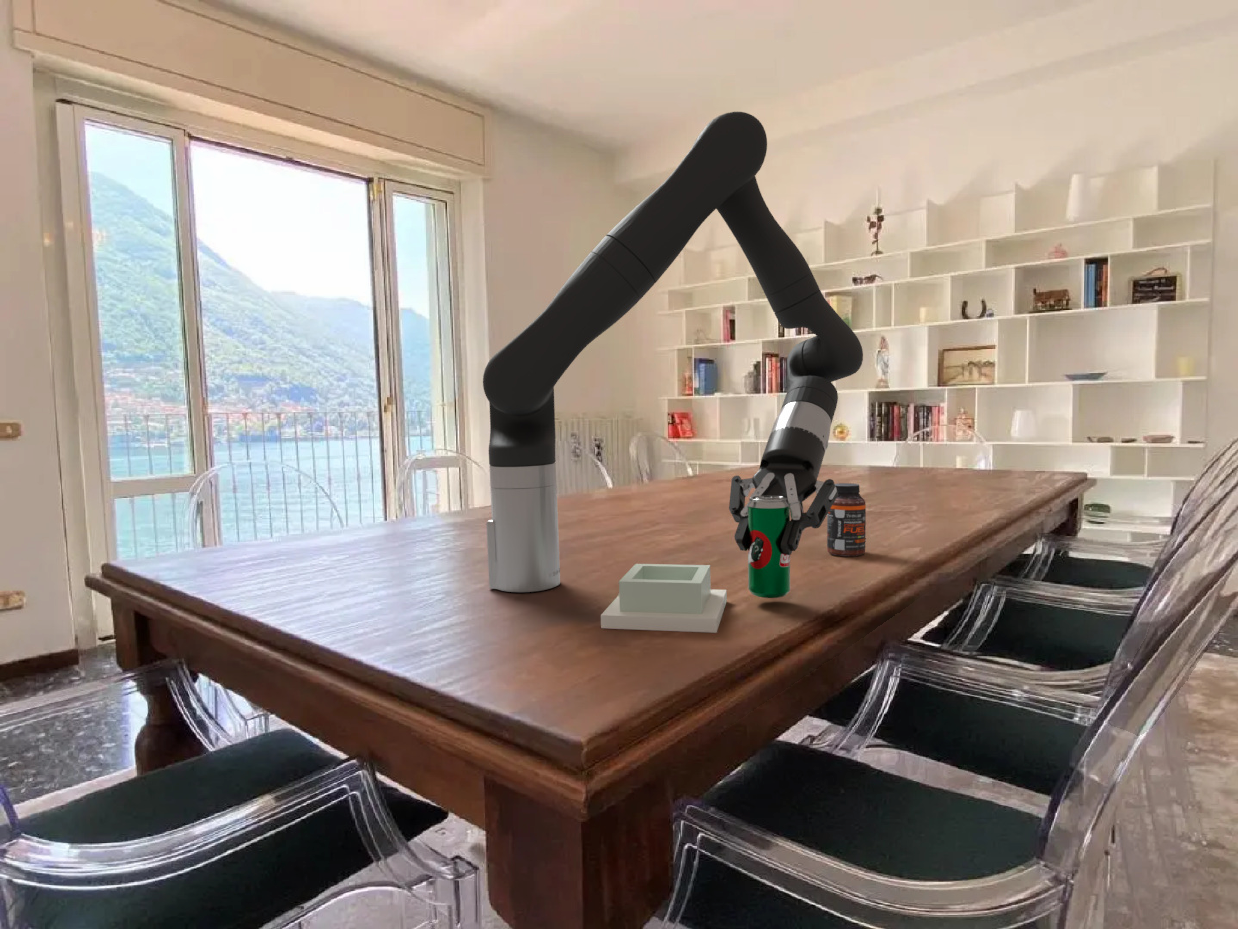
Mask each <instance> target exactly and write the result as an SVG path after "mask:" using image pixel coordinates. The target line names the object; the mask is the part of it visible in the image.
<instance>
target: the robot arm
mask: <svg viewBox="0 0 1238 929" xmlns="http://www.w3.org/2000/svg"><path fill="white" fill-rule="evenodd" d="M690 148H691V149H690V150H689V151H688V152H687V154H686V155H685V156H684V158H683V159H682V160H681V162H680V163H679V164H678V165H677V166H676V168H675V169H674V170H673V171H672V173H671V174H670V175H669V176H668V177H667V178H666V180H665V181H664V182H662V184H660V185H659V186H658V187H657V188H656V189H655V190H654V191H653V192H651V193H650V194H649V195H648V196H646V197H645V198H644V199H643V200H642V201H641V202H640V203H639V204H637V205H636V206H635V207H634V208H633V209H632V210H630V211H629V213H628V214H626V215H625V217H623V218H622V219H621V220H620V221H619V222H618V223H617V224H616V225H615V226H614V227H613V228H611V230H609V232H607V233H606V235H605V236H604V237H603V238H602V239H601V241H600V242H598V243H597V245H596V246H595V247H594V248H593V249H592V250H591V251H590V253H588V254H587V256H586V257H585V258H584V260H583V261H582V262H581V263H580V265H579V266H577V268H576V269H575V270H574V272H573V273H572V274H571V275H570V276H569V278H568V279H567V280H566V281H565V283H564V284H563V285H562V287H560V289H559V290H558V292H557V293H556V295H555V296H554V298H553V299H552V300H551V302H549V304H548V305H547V306H546V307H545V309H544V310H543V311H542V312H541V313H540V314H539V315H538V316H537V317H536V318H535V319H534V320H533V321H531V322H530V324H529V325H528V326H526V327H525V328H524V329H523V330H522V331H521V332H520V333H519V334H517V335H516V336H515V337H513V339H511V340H510V341H509V342H508V343H506V344H505V345H504V346H503V347H502V348H501V349H500V350H498V351H497V352H496V353H495V354H494V355H493V356H492V357H491V359H490V360H489V361H488V362H487V365H486V367H485V368H484V372H483V375H482V377H483V378H482V387H483V393H484V394H485V395H484V396H485V397H486V399H487V401H488V402H489V422H490V423H489V427H490V429H489V432H490V433H489V444H488V462H489V463H488V464H489V481H490V482H489V485H490V506H491V510H490V511H491V519H489V520H487V522H486V523H485V524H486V547H487V565H488V566H487V567H488V568H487V569H488V585H489V589H491V590H499V591H502V592H509V593H510V592H511V593H530V592H531V593H534V592H541V591H545V590H550V589H553V588H556V587H557V586H559V585H560V584H561V565H560V542H559V540H560V538H559V536H560V535H559V516H558V515H559V514H558V489H557V487H558V486H557V464H556V420H555V419H556V416H555V414H556V412H555V410H556V409H555V408H556V407H555V386H556V385H557V383H558V382H559V381H560V378H562V377H563V374H564V373H565V372H566V371H567V370H568V368H569V367H570V365H571V364H573V363H574V361H575V359H576V358H577V357H578V356H579V354H580V353H581V352H582V351H583V350H585V348H587V346H589V344H591V343H592V342H593V341H594V340H595V339H597V338H598V337H599V336H600V335H602V334H603V333H604V332H606V331H607V330H608V329H610V328H611V327H613V325H614V324H616V323H617V322H618V321H619V320H621V318H623V317H624V316H625V315H626V314H627V313H629V311H630V310H631V309H632V308H634V306H636V305H637V304H638V303H639V301H641V299H643V297H644V296H645V295H646V294H647V293H648V291H649V290H651V288H652V287H653V286H654V285H655V284H656V283H658V281H659V279H660V278H661V277H662V276H663V275H664V274H665V272H666V271H667V270H668V269H669V267H671V265H672V264H673V263H674V261H676V259H677V257H678V256H679V254H681V252H683V250H684V249H685V247H686V246H687V244H688V243H689V241H690V240H691V239H692V237H693V236H694V234H695V233H696V232H697V230H698V229H699V228H700V227H701V225H702V224H703V223H704V222H705V221H706V220H707V219H708V217H710V215H711V214H713V212H714V211H715V210H716V211H718V214H720V216H721V217H722V220H723V221H724V223H726V225H727V227H728V229H729V230H730V231H731V234H732V235H733V236H734V238H735V240H736V241H737V243H738V245H739V247H740V248H741V251H742V252H743V253H744V255H745V257H746V259H747V261H748V263H749V265H750V267H751V268H752V270H753V273H754V274H755V276H756V278H757V280H758V282H759V284H760V287H761V290H763V293H764V295H765V297H766V300H767V302H768V303H769V305H770V307H771V310H772V311H773V313H774V315H775V318H776V319H777V321H778V322H779V325H780V326H781V327H782V328H783V329H786V330H787V329H788V330H792V329H798V328H802V329H803V328H804V329H808V330H809V331H810V332H812V333H813V334H814V335H815V336H812V337H811V338H808V339H805V340H803V341H800V342H799V343H797V344H796V345H794V347H793V348H792V349H791V350H790V352H789V354H788V355H787V357H786V358H787V359H786V394H785V397H784V399H783V402H782V405H781V408H780V411H779V413H778V414H777V417H776V419H775V420H774V423H773V425H772V428H771V431H770V434H769V437H768V439H767V442H766V444H765V448H764V449H763V450H764V451H763V454H762V456H761V460H760V463H759V469H758V470H757V472H755V474H754V475H752V477H751V478H743V479H742V478H741V476H740V475H734V476H732V478H731V485H730V494H729V506H728V510H729V512H730V514H731V516H732V518H733V520H734V521H735V522H736V523H738V525H737V528H736V531H735V533H734V536H733V537H734V541H735V543H736V544H737V546H738V548H739V550H740V551H743V552H744V551H745V552H748V505H749V503H750V502H751V497H754V496H783V497H786V498H787V499H786V502H787V503H788V505H789V506H790V519H791V520H790V521H788V523H787V525H786V529H785V532H784V535H783V538H782V542H781V549H782V551H783V553H784V555H790V556H791V555H792V553H793V552H796V551H797V549H798V547H799V544H800V541H801V537H802V534H803V531H805V530H806V529H807V528H812V529H819V528H820V527H821V526H822V524H823V523H824V520H825V519H826V517H827V514H828V512H829V510H830V508H831V507H832V505H833V503H834V501H835V500H836V498H837V496H838V493H837V489H836V486H835V484H836V483H835V482H834V480H833V479H831V478H828V479H826V480H825V481H820V480H818V477H819V474H820V472H821V471H820V470H821V467H822V464H823V461H824V456H825V454H826V451H827V449H828V446H829V440H830V434H831V426H832V424H833V419H834V415H835V412H836V409H837V406H838V401H839V396H838V395H839V394H838V391H837V388H836V386H835V385H834V384H833V382H836V381H838V380H842V379H844V378H847V377H850V376H853V375H854V374H856V373H858V371H859V370H860V369H861V367H862V365H863V361H864V351H863V348H862V347H863V346H862V345H861V344H862V343H861V342H860V339H859V338H858V336H857V334H856V333H855V332H854V331H853V329H852V328H851V327H850V326H849V325H848V323H846V321H844V320H843V318H842V317H841V316H840V314H838V313H837V311H836V310H835V309H834V308H833V306H832V305H831V304H830V303H829V302H828V300H826V298H825V297H824V295H823V294H822V290H821V289H820V286H819V285H818V283H817V280H816V279H815V275H814V274H813V272H812V270H811V267H810V266H809V264H808V262H807V260H806V259H805V257H804V255H803V254H802V252H801V251H800V250H799V247H797V245H796V244H795V242H794V241H793V240H792V239H791V238H790V236H789V235H788V234H787V233H786V232H785V230H784V229H783V228H782V226H780V224H779V223H778V222H777V220H776V218H775V217H774V216H773V214H772V213H771V210H770V209H769V207H768V205H767V204H766V201H765V200H764V196H763V195H762V192H761V190H760V187H759V184H758V181H757V174H758V173H759V171H760V170H761V169H762V166H763V164H764V162H765V158H766V155H767V150H768V138H767V133H766V130H765V128H764V126H763V124H762V122H761V121H760V120H759V119H758V118H757V117H756V116H754V115H753V114H750V113H748V112H745V111H731V112H725V113H722V114H720V115H718V116H716V117H715V118H713V119H712V120H711V121H709V122H708V123H707V124H706V125H705V127H704V128H702V130H701V132H700V133H699V135H698V136H697V138H696V139H695V141H694V142H693V144H692V147H690ZM752 489H755V490H754V491H753V492H752V493H751V495H750V496H749V494H750V491H751V490H752ZM814 493H815V494H816V495H815V497H814V498H813V501H812V502H811V504H810V506H809V508H807V510H806V511H804V504H803V502H804V501H806V500H807V499H808V498H810V496H811V495H813V494H814ZM747 497H749V498H748V502H747V503H746V498H747ZM745 503H746V504H745Z"/></svg>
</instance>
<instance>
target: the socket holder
mask: <svg viewBox="0 0 1238 929" xmlns="http://www.w3.org/2000/svg"><path fill="white" fill-rule="evenodd" d="M711 587H712V585H711V565H710V564H707V565H706V564H667V563H666V564H664V563H663V564H661V563H659V564H658V563H635V564H634V565H633V566H632V567H631V568H630V569H629V570H628V571H627V572H626V573H625V574H624V575H623V576H622V577H621V579H620V580H618V595H617V596H616V598H615V599H614V600H613V601H612V602H611V603H610V604H609V605H608V606H607V608H606V609H605V610H604V611H603V612H602V613H601V614H600V627H601V629H613V630H614V629H617V630H635V631H636V630H638V631H639V630H641V631H659V632H660V631H663V632H664V631H665V632H667V631H668V632H686V633H687V632H688V633H692V632H693V633H712V634H713V633H714V634H715V633H716V634H717V633H718V629H719V626H720V623H721V620H722V618H723V614H724V610H725V608H726V605H727V602H728V600H727V599H728V598H727V597H728V596H727V592H728V590H727V589H712V588H711Z"/></svg>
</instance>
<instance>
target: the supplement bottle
mask: <svg viewBox="0 0 1238 929" xmlns="http://www.w3.org/2000/svg"><path fill="white" fill-rule="evenodd" d="M834 484H835V486H836V489H837V493H838V496H837V498H836V500H835V501H834V503H833V505H832V507H831V508H830V510H829V512H828V514H827V515H826V517H827V518H826V522H827V523H826V527H827V529H826V531H827V532H826V533H827V534H826V535H827V536H826V546H827V548H826V549H827V552H828V553H829V554H830V555H833V556H837V557H859V556H862V555H864V554H866V547H867V546H866V542H867V541H866V540H867V538H866V534H867V533H866V530H867V527H866V524H867V522H866V516H867V514H866V511H867V510H866V507H867V506H866V503H867V502H866V499H865V498H863V497H862V496H861V494H860V484H858V483H854V482H853V483H852V482H851V483H849V482H843V483H842V482H839V483H834Z"/></svg>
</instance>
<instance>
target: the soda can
mask: <svg viewBox="0 0 1238 929" xmlns="http://www.w3.org/2000/svg"><path fill="white" fill-rule="evenodd" d="M786 499H787V498H786V497H783V496H754V497H751V502H750V503H749V505H748V550H747V575H748V577H747V578H748V583H747V584H748V586H747V587H748V590H749V592H750V593H751V594H752V595H753V596H755V597H758V598H764V599H777V598H779V599H780V598H783V597H785V596H787V595H788V594H789V593H790V591H791V555H784V553H783V551H782V549H781V542H782V538H783V535H784V532H785V529H786V525H787V523H788V521H791V520H790V519H791V514H790V506H789V505H788V503H787V502H786Z"/></svg>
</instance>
